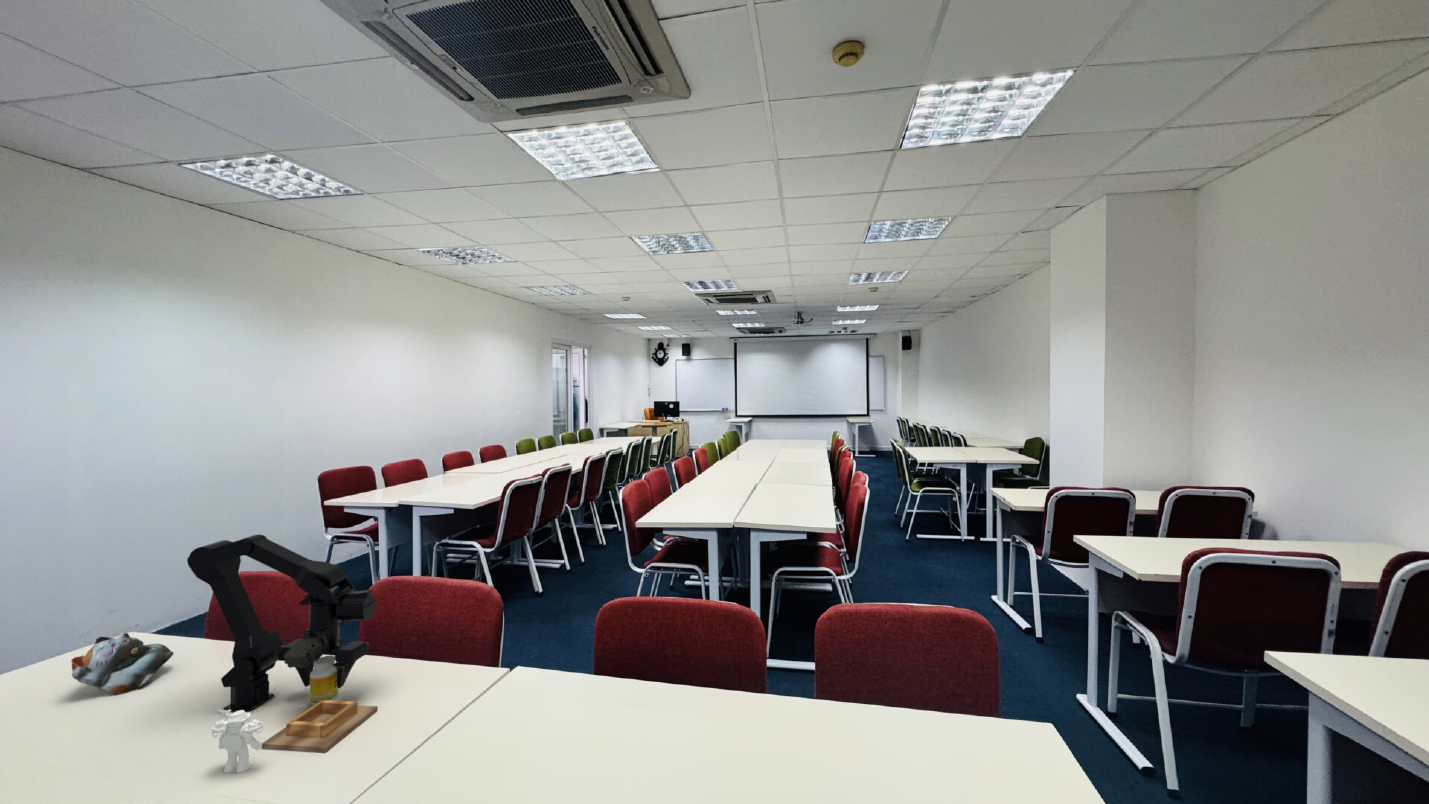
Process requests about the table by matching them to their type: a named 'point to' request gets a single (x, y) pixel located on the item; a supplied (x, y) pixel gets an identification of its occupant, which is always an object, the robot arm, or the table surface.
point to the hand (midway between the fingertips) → (323, 686)
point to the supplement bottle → (323, 680)
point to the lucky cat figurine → (119, 663)
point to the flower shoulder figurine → (237, 738)
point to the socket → (320, 726)
